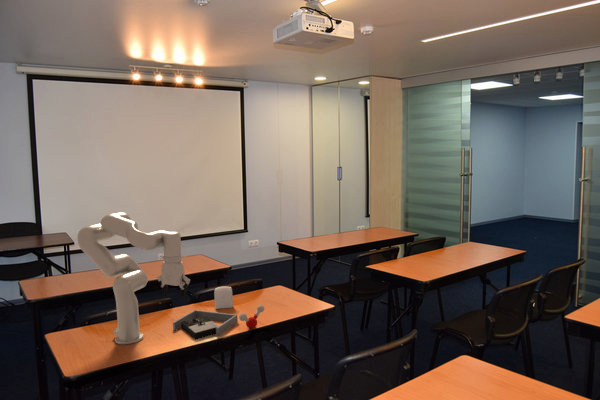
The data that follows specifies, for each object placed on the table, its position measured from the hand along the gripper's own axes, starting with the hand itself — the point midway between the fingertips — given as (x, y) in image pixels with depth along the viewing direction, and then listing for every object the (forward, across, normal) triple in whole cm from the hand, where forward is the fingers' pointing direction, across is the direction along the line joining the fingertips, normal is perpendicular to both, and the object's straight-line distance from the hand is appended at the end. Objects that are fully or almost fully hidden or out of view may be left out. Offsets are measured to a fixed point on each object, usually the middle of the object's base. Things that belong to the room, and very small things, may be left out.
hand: (174, 296), depth 196 cm
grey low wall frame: (+23, 0, +23) cm, 32 cm away
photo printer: (+23, -6, +51) cm, 56 cm away
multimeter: (+24, +1, +18) cm, 30 cm away
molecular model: (+23, +24, +28) cm, 44 cm away
